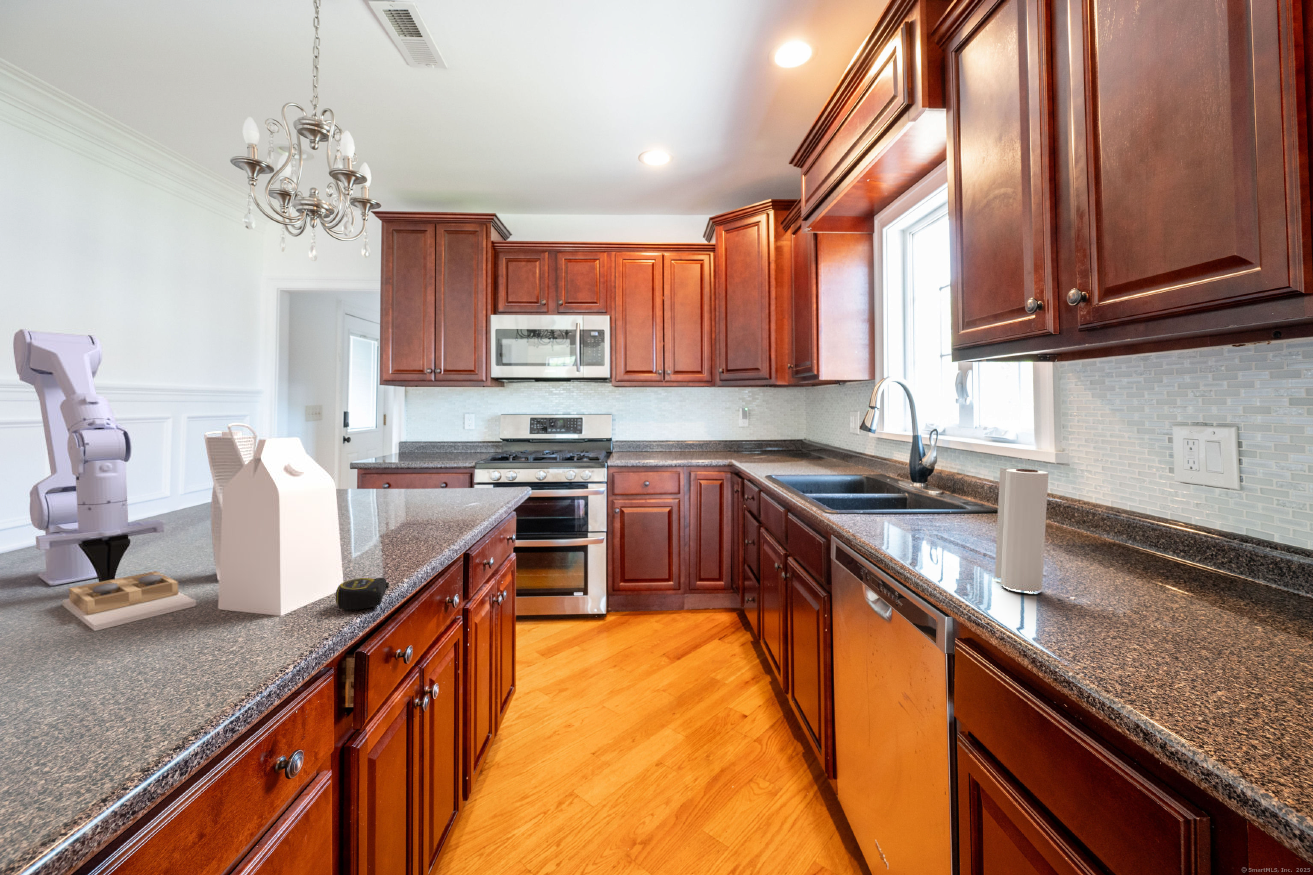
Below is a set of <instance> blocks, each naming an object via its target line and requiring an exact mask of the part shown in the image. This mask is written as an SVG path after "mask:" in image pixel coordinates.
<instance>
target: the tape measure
mask: <svg viewBox="0 0 1313 875" xmlns="http://www.w3.org/2000/svg"><path fill="white" fill-rule="evenodd" d="M389 585H390V582H387V579H386V578H385V577H376V578H372V577H371V578H369V577H368V578H367V577H363V578H362V577H360V578H359V577H358V578H354V579H350V580H347V581H343V583H342V584H340V585H339V586H338V589H337V590H336V592H335V603H336V604H337V607H338V608H339V609H342V610H346V611H347V610H348V611H357V610H358V611H359V610H364V609H369V608H372V607H376V606H379V605H381V604H382V600H383V598H384V596H385V593H386V592H387V589H389Z"/></svg>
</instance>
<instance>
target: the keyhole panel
mask: <svg viewBox="0 0 1313 875" xmlns="http://www.w3.org/2000/svg"><path fill="white" fill-rule="evenodd" d="M149 575H161V580H160V581H157V582H156V585H152V586H147V587H145V584H140V583H139V578H141V577H144V576H149ZM110 583H117V584H118V589H116V590H113V591H112V594H109V595H104V596H100V593H93V587H96V586H99V585H103V584H110ZM68 592H69V594H68V596H69V599H70V601H71V602H72V603H73V604H75V605H76V606H77V607H79V608H80V609H81V610H83V611H84V612H85V613H86V614H88V615H89V614H94V613H98V612H103V611H107V610H111V609H116V608H120V607H125V606H129V605H133V604H138V603H142V602H147V601H151V600H155V599H160V598H164V597H169V596H173V595H177V594H178V592H179V581H177V580H174V579H172V578H171V577H168V576H167V575H165V574H163V573H160V572H158V571H150V572H144V573H141V574H140V573H139V574H134V575H130V576H124V577H120V578H119V577H118V578H115V579H113V580H108V581H102V582H99V581H98V582H93V583H89V584H82V585H76V586H72V587H68Z"/></svg>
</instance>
